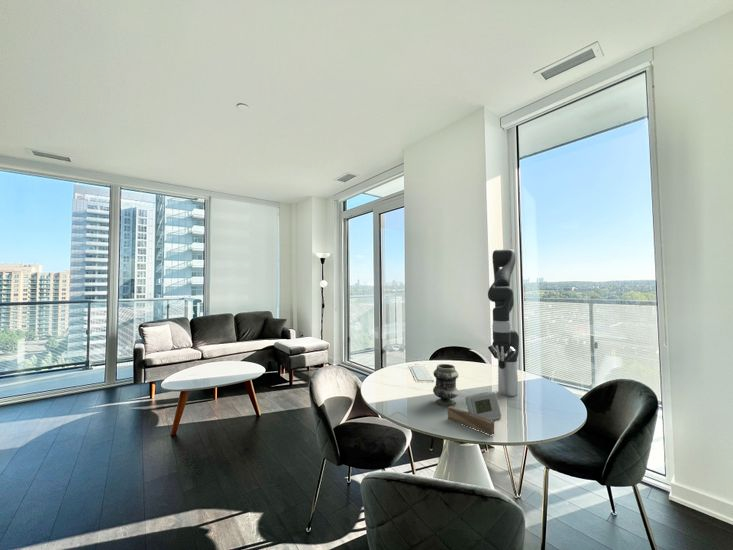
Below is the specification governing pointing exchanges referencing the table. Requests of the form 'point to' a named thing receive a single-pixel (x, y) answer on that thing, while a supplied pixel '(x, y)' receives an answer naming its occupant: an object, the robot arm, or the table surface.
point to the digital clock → (484, 405)
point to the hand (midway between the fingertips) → (502, 368)
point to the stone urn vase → (445, 385)
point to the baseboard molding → (421, 373)
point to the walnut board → (471, 420)
